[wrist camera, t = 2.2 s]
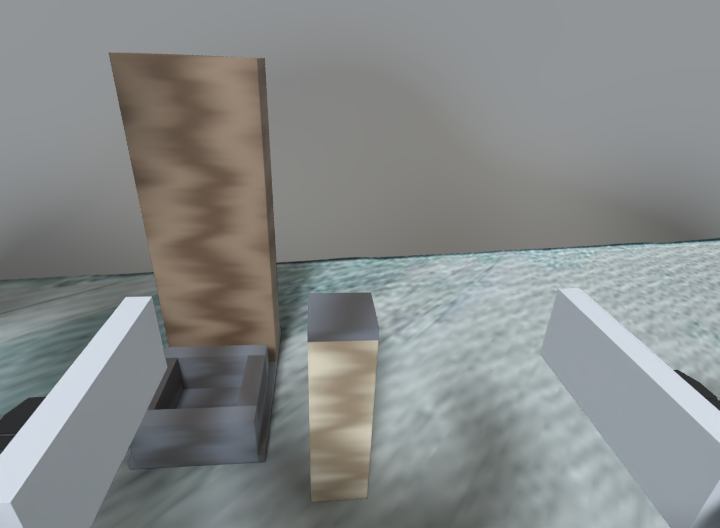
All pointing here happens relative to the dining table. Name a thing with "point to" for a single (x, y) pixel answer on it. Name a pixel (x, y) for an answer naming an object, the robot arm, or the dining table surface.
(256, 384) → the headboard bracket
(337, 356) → the beige wooden tall block
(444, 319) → the dining table surface
